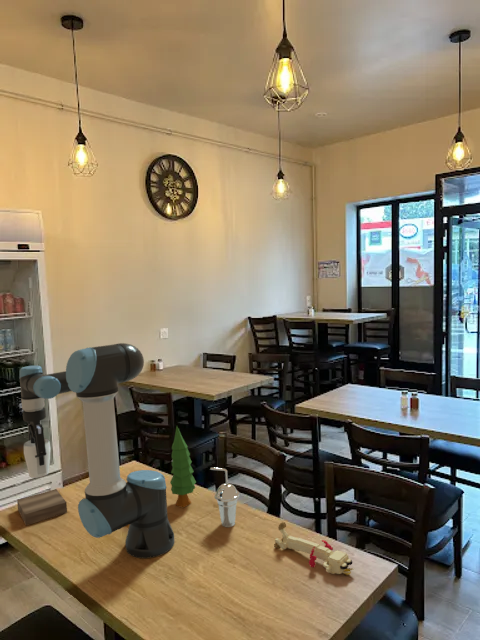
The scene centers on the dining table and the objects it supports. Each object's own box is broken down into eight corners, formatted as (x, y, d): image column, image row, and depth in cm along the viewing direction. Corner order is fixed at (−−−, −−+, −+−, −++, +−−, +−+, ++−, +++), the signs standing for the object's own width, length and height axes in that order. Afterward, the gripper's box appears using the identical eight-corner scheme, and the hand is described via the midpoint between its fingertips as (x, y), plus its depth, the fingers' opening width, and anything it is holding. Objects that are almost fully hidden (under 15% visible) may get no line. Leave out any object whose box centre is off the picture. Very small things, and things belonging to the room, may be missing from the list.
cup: (42, 480, 168) (40, 447, 167) (20, 478, 169) (17, 446, 168) (57, 469, 176) (55, 438, 175) (35, 468, 178) (33, 437, 177)
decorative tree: (166, 506, 174) (162, 427, 171) (179, 495, 183) (175, 419, 180) (189, 510, 170) (185, 429, 168) (201, 498, 179) (197, 421, 176)
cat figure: (270, 555, 143) (342, 583, 126) (267, 527, 143) (339, 551, 126) (290, 541, 150) (361, 566, 133) (287, 514, 150) (358, 535, 133)
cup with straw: (235, 532, 155) (232, 473, 153) (210, 527, 158) (207, 469, 156) (244, 519, 162) (242, 463, 161) (220, 515, 166) (217, 460, 164)
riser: (67, 512, 173) (66, 502, 172) (25, 525, 164) (24, 514, 164) (57, 498, 184) (56, 488, 184) (18, 510, 176) (17, 499, 176)
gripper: (52, 413, 164) (57, 475, 166) (38, 401, 182) (42, 457, 184) (29, 417, 160) (34, 481, 162) (16, 404, 177) (21, 462, 179)
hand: (38, 469), depth 173 cm, fingers closed on cup, 9 cm apart
